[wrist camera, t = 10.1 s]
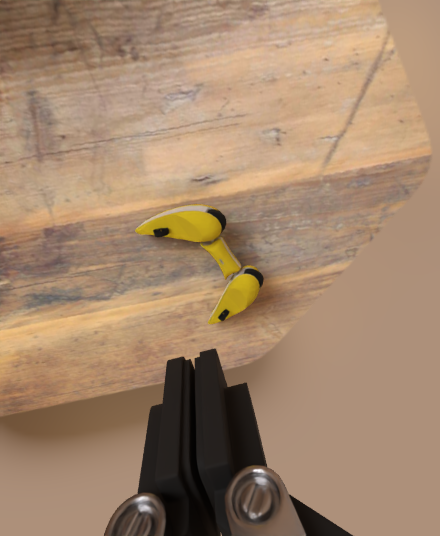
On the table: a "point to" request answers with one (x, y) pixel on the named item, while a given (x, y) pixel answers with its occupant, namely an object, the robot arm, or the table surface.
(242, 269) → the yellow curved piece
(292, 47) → the table surface
